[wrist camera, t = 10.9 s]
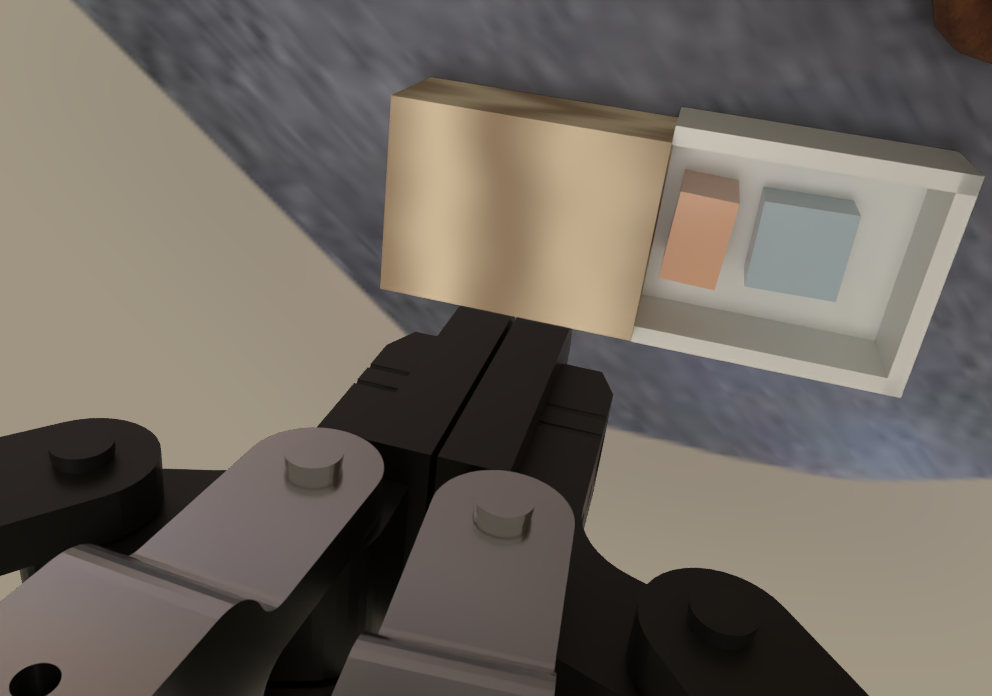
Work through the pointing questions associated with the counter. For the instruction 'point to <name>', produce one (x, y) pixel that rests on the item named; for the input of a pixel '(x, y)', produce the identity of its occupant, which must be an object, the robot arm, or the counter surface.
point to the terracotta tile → (700, 229)
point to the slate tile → (801, 243)
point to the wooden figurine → (966, 26)
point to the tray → (870, 268)
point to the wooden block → (523, 203)
